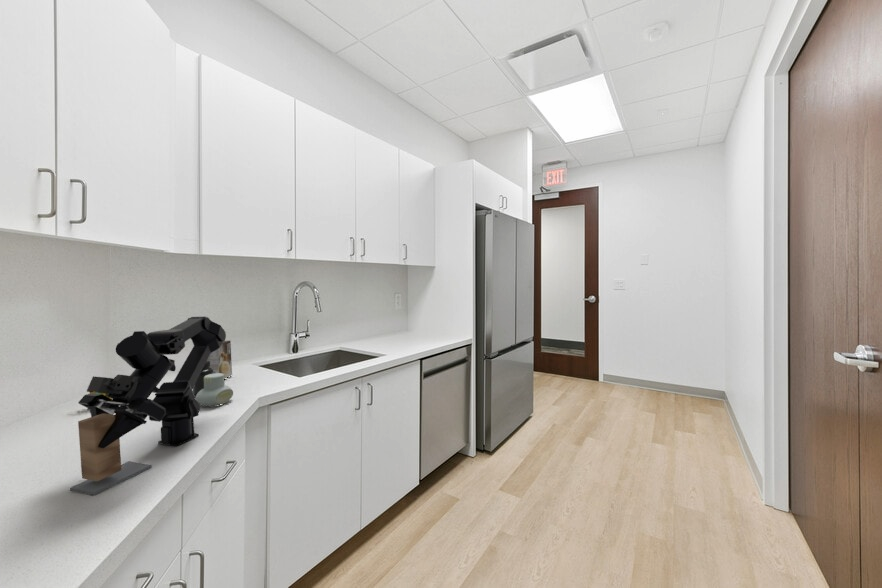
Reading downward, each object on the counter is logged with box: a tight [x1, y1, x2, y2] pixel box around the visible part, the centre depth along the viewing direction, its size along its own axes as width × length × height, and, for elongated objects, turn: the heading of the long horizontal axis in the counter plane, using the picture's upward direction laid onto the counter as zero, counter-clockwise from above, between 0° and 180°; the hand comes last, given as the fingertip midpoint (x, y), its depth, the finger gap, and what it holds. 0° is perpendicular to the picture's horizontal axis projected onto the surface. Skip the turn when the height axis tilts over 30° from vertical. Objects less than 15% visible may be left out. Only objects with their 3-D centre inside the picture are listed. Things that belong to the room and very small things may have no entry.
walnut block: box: [77, 413, 122, 481], centre depth 76 cm, size 4×4×12 cm
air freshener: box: [195, 373, 234, 407], centre depth 124 cm, size 11×8×10 cm
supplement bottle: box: [192, 361, 214, 397], centre depth 136 cm, size 7×7×12 cm
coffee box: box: [207, 340, 233, 380], centre depth 155 cm, size 9×6×16 cm
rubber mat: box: [69, 460, 152, 496], centre depth 78 cm, size 11×7×1 cm, turn 165°
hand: (92, 446), depth 75 cm, fingers closed on walnut block, 4 cm apart
